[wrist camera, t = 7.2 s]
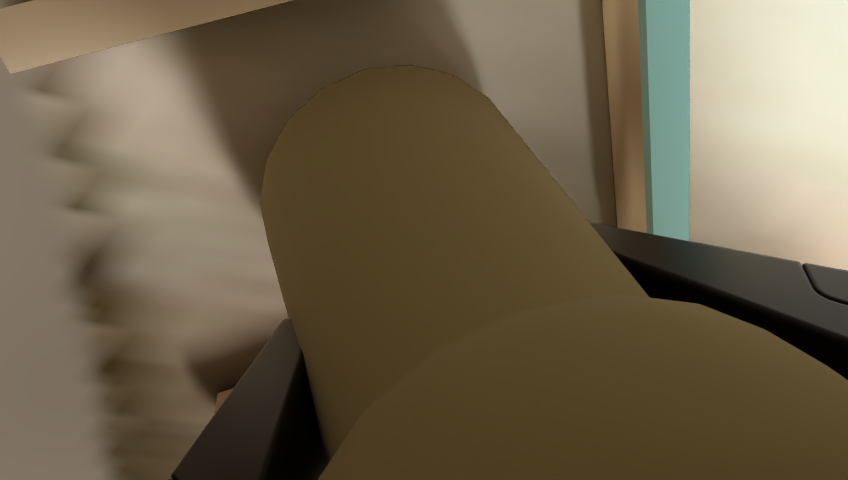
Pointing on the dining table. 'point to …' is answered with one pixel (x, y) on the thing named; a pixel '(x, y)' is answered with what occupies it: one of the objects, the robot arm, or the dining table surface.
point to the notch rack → (625, 59)
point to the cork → (506, 314)
